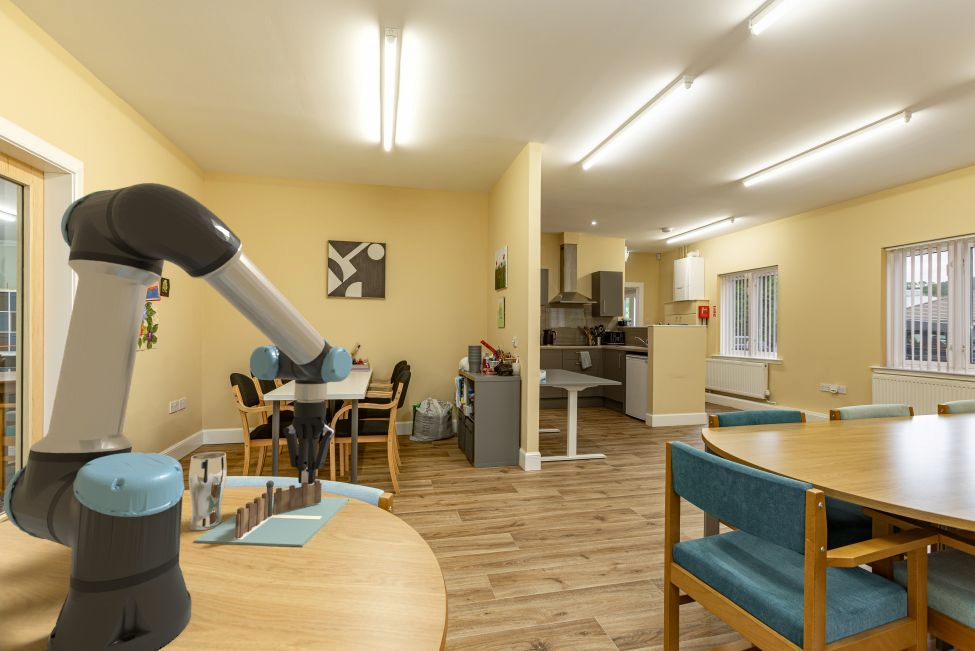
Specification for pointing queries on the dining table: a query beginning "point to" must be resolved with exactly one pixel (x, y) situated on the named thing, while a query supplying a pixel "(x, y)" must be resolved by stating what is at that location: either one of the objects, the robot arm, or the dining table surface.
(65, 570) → the dining table surface
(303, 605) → the dining table surface
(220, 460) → the beer glass
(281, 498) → the fence panel
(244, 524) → the fence fixed
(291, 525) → the board
